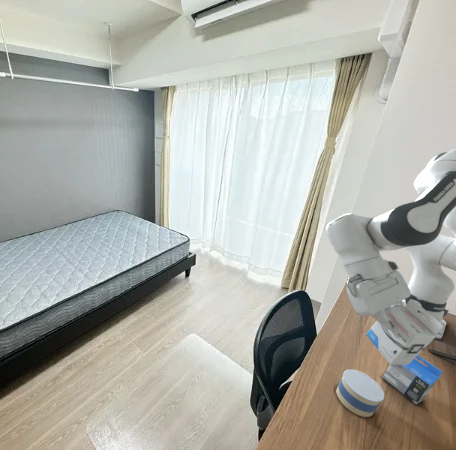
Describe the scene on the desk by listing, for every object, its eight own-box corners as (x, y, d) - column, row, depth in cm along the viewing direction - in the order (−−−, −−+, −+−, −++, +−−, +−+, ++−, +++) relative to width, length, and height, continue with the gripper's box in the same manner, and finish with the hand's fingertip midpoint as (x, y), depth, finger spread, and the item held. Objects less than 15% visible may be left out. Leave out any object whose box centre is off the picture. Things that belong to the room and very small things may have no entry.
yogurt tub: (346, 380, 77) (354, 364, 74) (381, 409, 69) (391, 393, 67) (328, 392, 73) (336, 376, 71) (363, 423, 66) (373, 407, 63)
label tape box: (381, 377, 78) (397, 349, 74) (389, 373, 80) (405, 346, 75) (415, 405, 71) (436, 376, 66) (423, 400, 72) (444, 371, 67)
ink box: (364, 334, 68) (391, 297, 60) (382, 334, 68) (410, 297, 60) (389, 365, 60) (423, 326, 53) (409, 365, 60) (446, 327, 53)
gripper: (357, 276, 59) (390, 337, 54) (399, 261, 67) (430, 312, 63) (332, 281, 64) (360, 337, 60) (374, 267, 72) (401, 314, 68)
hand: (396, 324), depth 61 cm, fingers closed on ink box, 6 cm apart
